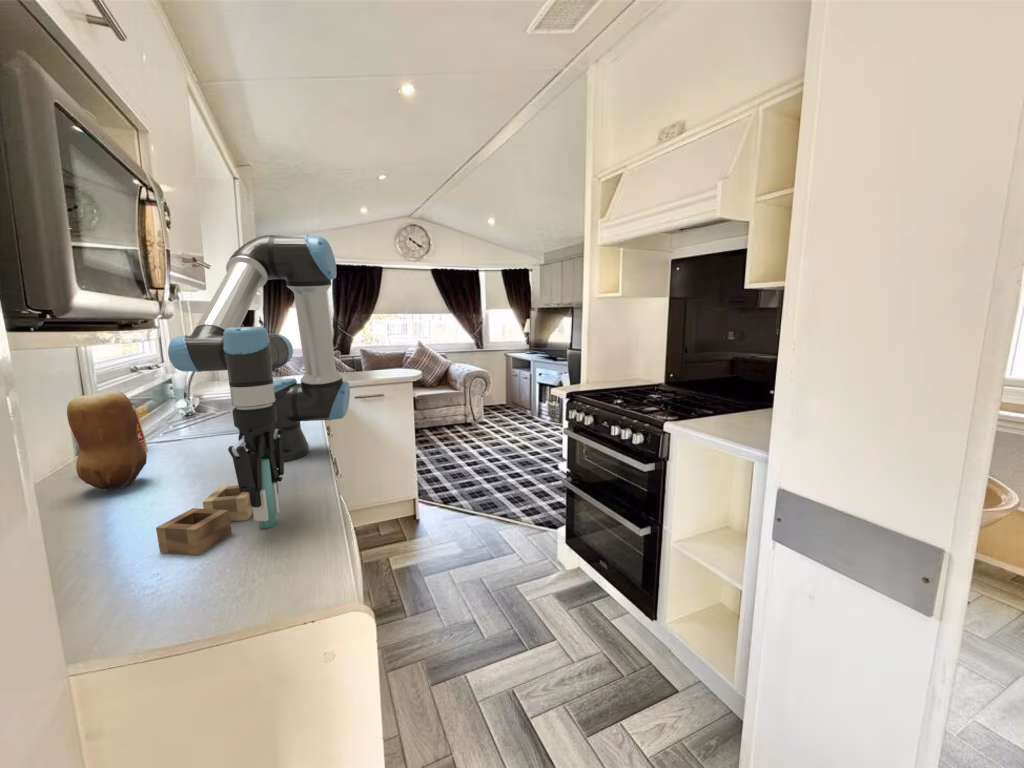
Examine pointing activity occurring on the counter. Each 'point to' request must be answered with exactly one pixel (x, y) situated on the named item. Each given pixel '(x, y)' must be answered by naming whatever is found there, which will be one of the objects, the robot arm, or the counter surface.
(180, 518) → the brown wooden square frame
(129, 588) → the counter surface
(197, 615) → the counter surface
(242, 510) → the light wooden square frame
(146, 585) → the counter surface
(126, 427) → the butternut squash
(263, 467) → the teal cylindrical rod
